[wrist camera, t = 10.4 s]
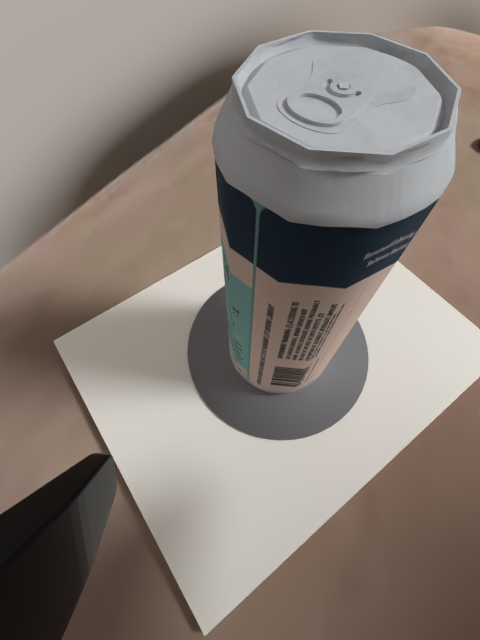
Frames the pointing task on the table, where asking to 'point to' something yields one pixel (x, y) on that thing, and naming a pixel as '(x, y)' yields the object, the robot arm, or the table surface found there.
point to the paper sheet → (256, 420)
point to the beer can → (323, 190)
